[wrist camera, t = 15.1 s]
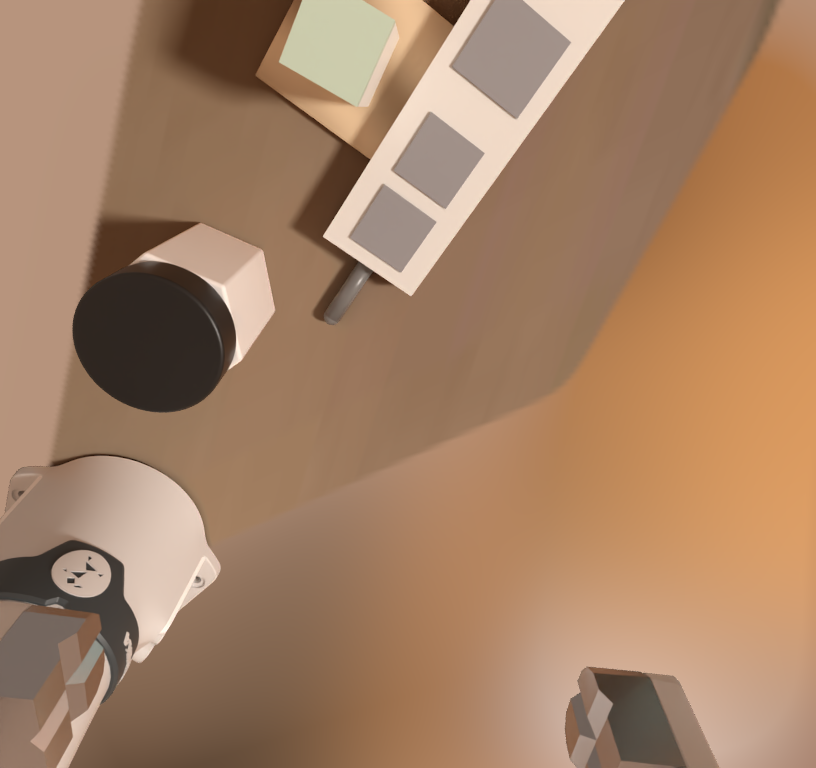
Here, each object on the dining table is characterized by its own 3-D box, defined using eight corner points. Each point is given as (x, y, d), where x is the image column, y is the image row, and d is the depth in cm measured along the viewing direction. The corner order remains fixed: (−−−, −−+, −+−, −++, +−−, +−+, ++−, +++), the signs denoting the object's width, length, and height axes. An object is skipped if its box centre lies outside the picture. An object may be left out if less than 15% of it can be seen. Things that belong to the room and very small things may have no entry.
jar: (141, 310, 43) (50, 379, 32) (170, 206, 40) (78, 243, 29) (258, 357, 45) (207, 438, 34) (294, 260, 41) (251, 315, 31)
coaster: (378, 163, 39) (377, 164, 38) (257, 75, 37) (255, 75, 36) (460, 33, 35) (461, 32, 35) (333, -72, 33) (332, -75, 33)
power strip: (368, 345, 44) (365, 360, 42) (287, 294, 42) (279, 305, 40) (651, -50, 34) (671, -63, 31) (558, -140, 32) (570, -161, 29)
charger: (368, 106, 37) (356, 106, 29) (306, 71, 36) (278, 62, 29) (399, 38, 35) (394, 20, 28) (335, -2, 34) (313, -30, 27)
